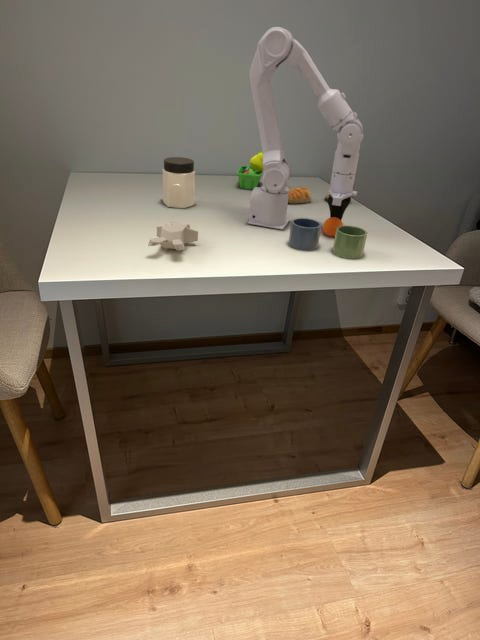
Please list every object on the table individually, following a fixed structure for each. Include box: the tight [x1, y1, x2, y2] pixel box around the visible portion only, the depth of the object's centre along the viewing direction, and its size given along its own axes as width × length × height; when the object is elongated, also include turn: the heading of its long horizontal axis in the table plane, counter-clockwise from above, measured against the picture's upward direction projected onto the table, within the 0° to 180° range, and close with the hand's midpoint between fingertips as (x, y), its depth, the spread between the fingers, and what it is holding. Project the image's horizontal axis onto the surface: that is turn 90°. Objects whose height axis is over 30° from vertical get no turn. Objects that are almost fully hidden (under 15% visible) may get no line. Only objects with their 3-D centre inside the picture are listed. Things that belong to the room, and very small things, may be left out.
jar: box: [162, 156, 196, 209], centre depth 129 cm, size 9×8×12 cm
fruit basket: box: [236, 150, 264, 190], centre depth 152 cm, size 11×9×11 cm
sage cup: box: [332, 224, 368, 260], centre depth 108 cm, size 7×7×6 cm
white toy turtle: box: [147, 221, 199, 252], centre depth 104 cm, size 10×5×15 cm
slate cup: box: [288, 217, 323, 252], centre depth 111 cm, size 7×7×6 cm
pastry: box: [288, 187, 312, 205], centre depth 142 cm, size 9×7×4 cm
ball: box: [322, 217, 344, 238], centre depth 119 cm, size 5×5×5 cm
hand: (334, 225), depth 121 cm, fingers closed, pressing on ball
